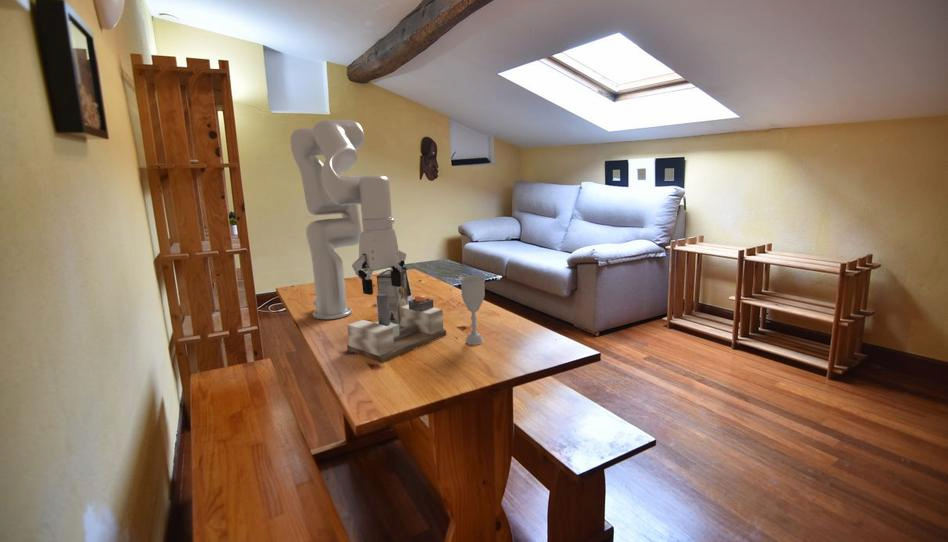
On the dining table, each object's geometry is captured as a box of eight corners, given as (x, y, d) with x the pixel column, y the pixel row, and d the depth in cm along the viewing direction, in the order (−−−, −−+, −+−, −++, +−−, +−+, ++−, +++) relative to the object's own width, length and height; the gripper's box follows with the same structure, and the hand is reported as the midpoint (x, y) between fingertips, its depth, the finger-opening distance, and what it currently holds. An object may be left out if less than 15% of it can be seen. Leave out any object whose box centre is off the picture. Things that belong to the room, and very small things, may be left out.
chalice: (490, 338, 137) (489, 276, 133) (483, 347, 131) (481, 282, 127) (466, 336, 139) (464, 274, 135) (457, 344, 133) (455, 280, 129)
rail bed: (347, 350, 131) (344, 315, 129) (411, 326, 149) (410, 294, 147) (382, 362, 122) (379, 324, 120) (446, 335, 141) (444, 301, 138)
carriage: (370, 334, 132) (367, 295, 130) (382, 330, 135) (379, 292, 133) (388, 339, 128) (385, 299, 125) (399, 335, 131) (397, 295, 128)
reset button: (413, 304, 141) (412, 296, 140) (421, 301, 143) (420, 294, 143) (421, 305, 139) (420, 298, 138) (428, 303, 141) (428, 295, 141)
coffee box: (390, 317, 158) (387, 269, 155) (409, 318, 157) (406, 269, 153) (379, 326, 149) (376, 275, 146) (399, 327, 148) (396, 276, 145)
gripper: (393, 221, 134) (397, 281, 137) (340, 228, 121) (346, 295, 124) (412, 221, 129) (416, 284, 133) (359, 229, 116) (365, 299, 119)
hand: (382, 290), depth 128 cm, fingers open, 9 cm apart
